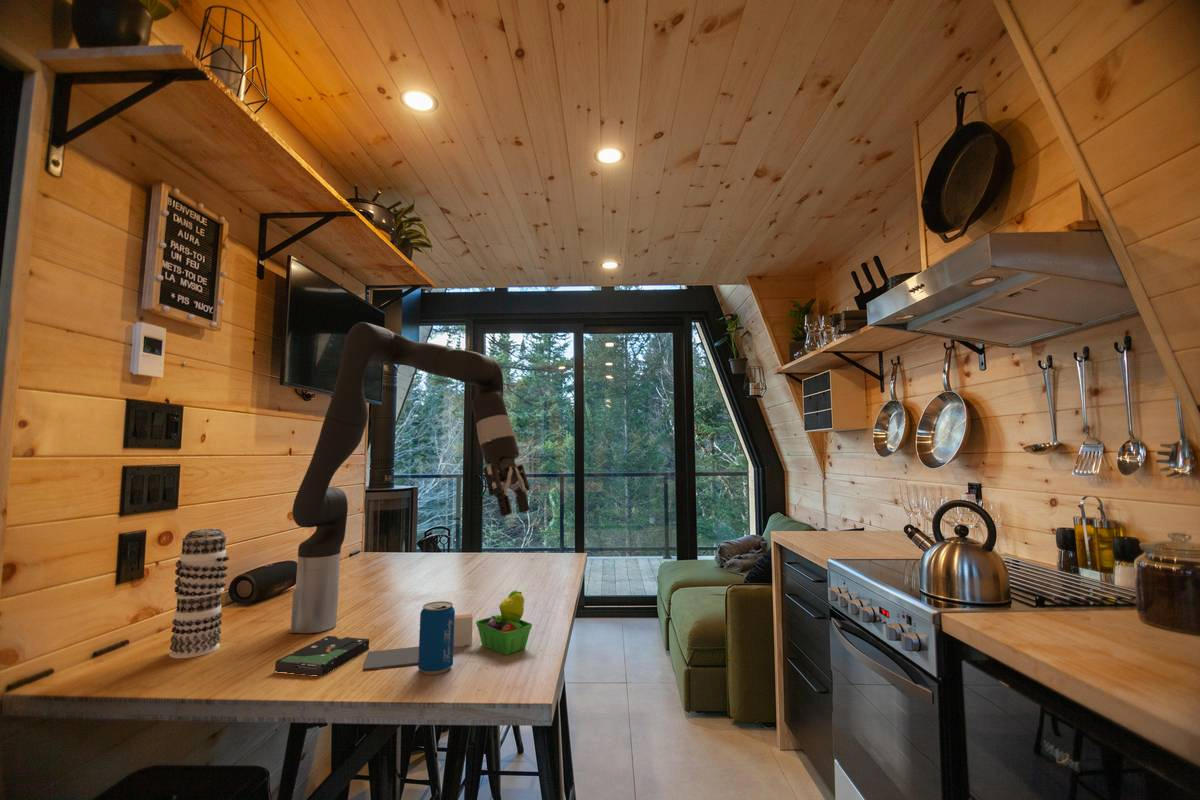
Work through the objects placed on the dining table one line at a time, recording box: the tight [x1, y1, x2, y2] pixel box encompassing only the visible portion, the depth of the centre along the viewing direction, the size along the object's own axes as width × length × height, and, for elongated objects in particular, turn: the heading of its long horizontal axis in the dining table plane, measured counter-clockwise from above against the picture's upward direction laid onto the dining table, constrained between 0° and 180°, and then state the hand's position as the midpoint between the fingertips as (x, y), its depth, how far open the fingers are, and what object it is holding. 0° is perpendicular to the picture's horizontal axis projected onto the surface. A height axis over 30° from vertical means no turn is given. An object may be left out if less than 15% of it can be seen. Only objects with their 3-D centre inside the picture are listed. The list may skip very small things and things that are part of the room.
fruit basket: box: [475, 590, 533, 656], centre depth 114 cm, size 11×9×11 cm
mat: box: [362, 646, 419, 671], centre depth 106 cm, size 11×9×1 cm
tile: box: [454, 613, 474, 648], centre depth 114 cm, size 7×2×6 cm, turn 108°
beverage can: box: [417, 600, 456, 675], centre depth 102 cm, size 6×6×12 cm
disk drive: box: [274, 635, 370, 677], centre depth 105 cm, size 10×3×15 cm
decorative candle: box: [168, 528, 230, 659], centre depth 111 cm, size 9×9×25 cm
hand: (516, 513), depth 109 cm, fingers open, 8 cm apart
